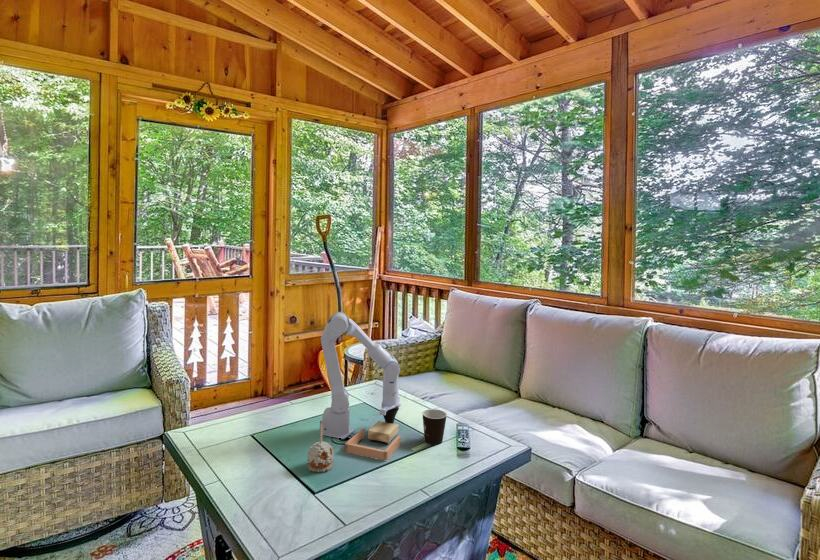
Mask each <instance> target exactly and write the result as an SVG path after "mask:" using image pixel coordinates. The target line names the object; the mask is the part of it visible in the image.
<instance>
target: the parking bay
mask: <svg viewBox="0 0 820 560" xmlns="http://www.w3.org/2000/svg"><path fill="white" fill-rule="evenodd" d="M363 437H364V438H365V429H364V428H360V430H359V431H358V432H356V433H355V434H354V435H353V436H352V437H351V438H350V439H348V441H346V442H345V443H344V453H345V452H348V453H347V454H350V453H353V454H352V455H354V454H357V455H356V456H359V455H362V456H361V457H364V456H367V457H366V458H368V457H373V458H377V459H376V460H378V459H382V460H387V459H388V458H389V459H390V457H391V456H393V454H394V453H395V452H396V451H397V449H398V448H399V447H400V446H401V445H400V444H401V443H402V442H401V441H402V436H401V435H396V438H395V439H393V441H392V442H390V443H389V444H388V446H387V447H386V449H384V450H383V449H378V448H374V447H370V446H365V445H360V444H359V443H358V442H359V441H360V440H361V439H362V438H363ZM364 438H363V439H364ZM363 439H362V440H363ZM362 440H361V441H362ZM361 441H360V442H361ZM399 445H400V446H399ZM398 446H399V447H398ZM394 451H395V452H394ZM393 452H394V453H393ZM392 453H393V454H392ZM373 458H372V459H373ZM389 459H388V460H389ZM382 460H381V461H382ZM388 460H387V461H388Z"/></svg>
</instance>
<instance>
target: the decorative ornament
mask: <svg viewBox="0 0 820 560" xmlns="http://www.w3.org/2000/svg"><path fill="white" fill-rule="evenodd" d="M322 426H323V421H322V419H320V421H319V441H316V442H315V443H312V445H311V446H310V448H308V451H307V461H308V463H307V468H308V470H309V471H312V472H317V473H319V472H320V473H321V472H325V471H329V470H331V469H333V466H334V455H335V454H334V449H333V446H332V445H331V444H330V443H328V442H326V441H323V435H322Z"/></svg>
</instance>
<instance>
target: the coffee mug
mask: <svg viewBox="0 0 820 560" xmlns="http://www.w3.org/2000/svg"><path fill="white" fill-rule="evenodd" d="M447 416H448V415H447V412H446V411H443V410H441V409H436V408H433V409H432V408H431V409H430V408H429V409H425V410H424V411H422V422H423V423H422V425H423V436H424V438H423V439H424V442H425V443H426V444H428V445H432V446H438V445H440V444H442V443H443V440H444V433H445V428H446V422H447Z"/></svg>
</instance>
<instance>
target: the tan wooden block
mask: <svg viewBox="0 0 820 560" xmlns="http://www.w3.org/2000/svg"><path fill="white" fill-rule="evenodd" d="M399 426H400V425H399V424H398V423H397V424H396V423H387V422H385V421H381V420H378V421H376V422H375V423H374V424H373V425H372V426H371V427H370V428H369V429H368V430H367V439H368V440H369V441H370V442H373V441H378V442H384V443H385V444H386V445H390V444H391V441H392V440H394V438H395V437H397V436H398V433H399Z"/></svg>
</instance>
